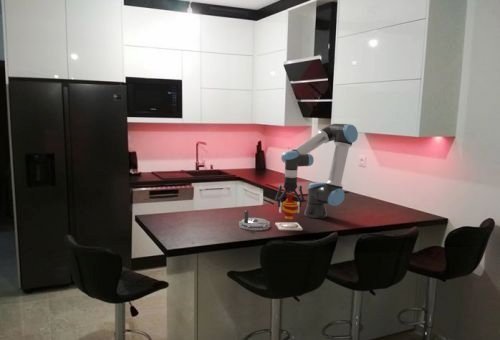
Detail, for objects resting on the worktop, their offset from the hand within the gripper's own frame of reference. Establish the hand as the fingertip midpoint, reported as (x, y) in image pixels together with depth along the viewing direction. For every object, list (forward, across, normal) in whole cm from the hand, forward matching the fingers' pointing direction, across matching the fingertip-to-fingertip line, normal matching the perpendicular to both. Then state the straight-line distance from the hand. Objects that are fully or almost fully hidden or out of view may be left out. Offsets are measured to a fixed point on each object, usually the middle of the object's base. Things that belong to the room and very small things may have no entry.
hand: (289, 212), depth 252 cm
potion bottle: (+4, 0, 0) cm, 4 cm away
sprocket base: (+9, +21, -2) cm, 23 cm away
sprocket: (+8, +21, -2) cm, 22 cm away
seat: (+9, 0, 0) cm, 9 cm away
